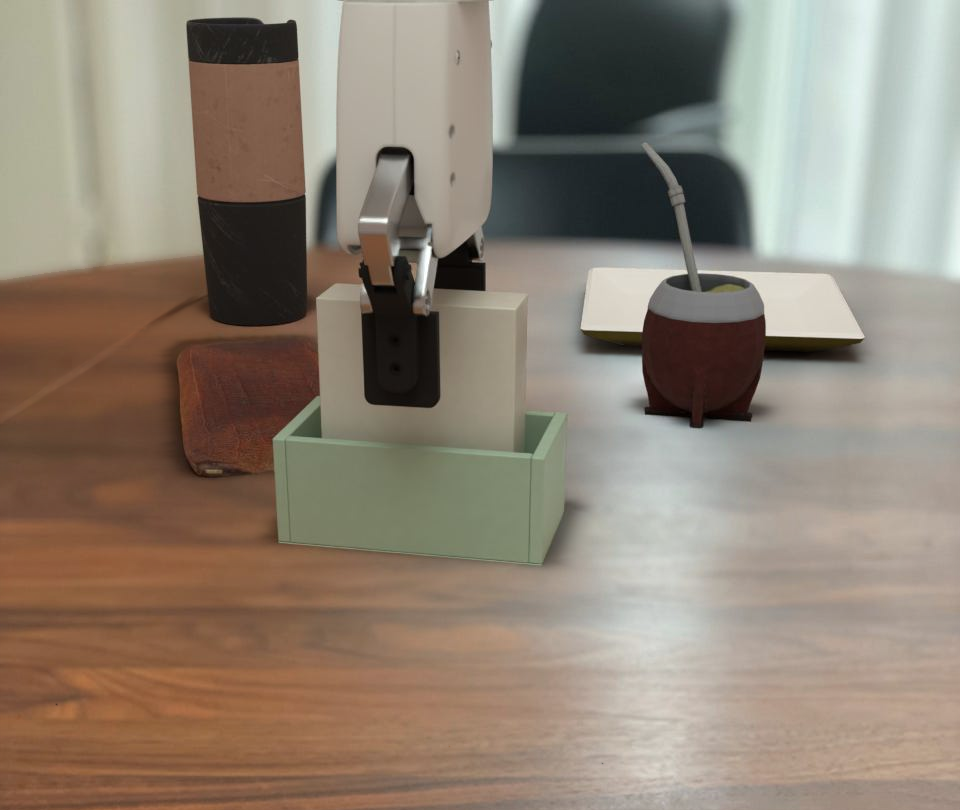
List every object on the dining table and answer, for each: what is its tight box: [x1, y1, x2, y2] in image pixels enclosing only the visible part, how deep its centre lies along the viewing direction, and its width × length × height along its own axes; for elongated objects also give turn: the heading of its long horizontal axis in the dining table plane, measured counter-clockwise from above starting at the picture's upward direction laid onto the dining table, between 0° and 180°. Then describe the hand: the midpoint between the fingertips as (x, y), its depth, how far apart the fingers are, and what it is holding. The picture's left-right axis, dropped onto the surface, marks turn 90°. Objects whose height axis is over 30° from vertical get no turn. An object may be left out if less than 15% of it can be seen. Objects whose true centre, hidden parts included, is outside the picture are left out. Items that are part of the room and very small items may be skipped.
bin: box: [273, 396, 568, 566], centre depth 70 cm, size 12×7×6 cm, turn 78°
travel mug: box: [185, 16, 308, 327], centre depth 106 cm, size 8×8×20 cm
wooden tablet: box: [176, 336, 320, 478], centre depth 89 cm, size 27×10×2 cm, turn 12°
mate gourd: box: [641, 141, 766, 429], centre depth 85 cm, size 8×8×15 cm
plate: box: [580, 267, 866, 353], centre depth 107 cm, size 19×19×2 cm
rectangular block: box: [315, 282, 529, 453], centre depth 69 cm, size 9×3×11 cm, turn 78°
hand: (429, 373), depth 68 cm, fingers open, 9 cm apart
